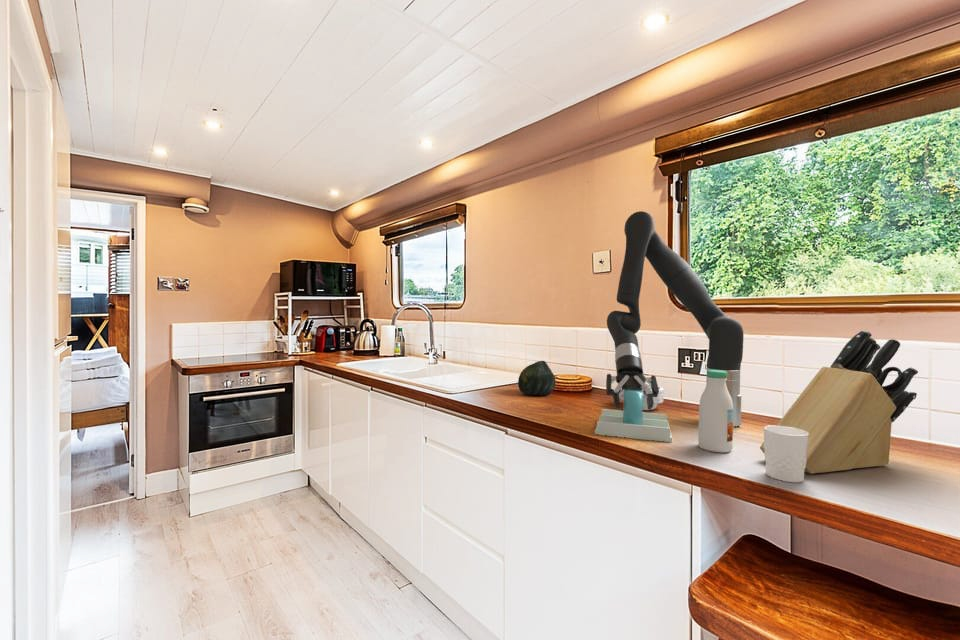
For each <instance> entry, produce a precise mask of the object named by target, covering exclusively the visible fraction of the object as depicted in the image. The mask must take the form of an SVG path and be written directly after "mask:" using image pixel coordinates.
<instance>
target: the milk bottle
mask: <svg viewBox="0 0 960 640" xmlns="http://www.w3.org/2000/svg"><path fill="white" fill-rule="evenodd" d="M706 377H707V380H708V381H707V385H706V384H705V385H706V386H705V388H704V390H703V392H702V394H701V396H700V399H699V407H698V408H699V409H698V441H697V442H698V446H699V448H701V449H702V450H704V451H708V452H713V453H723V454H724V453H730V452H732V450H733V442H734V441H733V438H734V437H733V434H734V427H733V402H732V399H731V396H730V394H729V392H728V389H727V386H726V380H727V372H726V371H722V370H707V369H706Z"/></svg>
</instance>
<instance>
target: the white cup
mask: <svg viewBox="0 0 960 640" xmlns="http://www.w3.org/2000/svg"><path fill="white" fill-rule="evenodd" d="M808 438H809V433H808V432H806V431H804V430H801V429H797V428H793V427H786V426H777V425H765V426H763V443H764V450H765V454H764V460H765V474H766V475H767V476H768V477H769V476H770V478H772V479H774V478H775V480H777V479H778V480H777V481H781V480H782V482H785V483H795V482H796V483H802V482H804V480H805V468H806V461H807V449H808Z"/></svg>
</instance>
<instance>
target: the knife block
mask: <svg viewBox="0 0 960 640" xmlns="http://www.w3.org/2000/svg"><path fill="white" fill-rule="evenodd" d="M872 336H873V335H872V333H871V332H869V330H865V329H863V330H860V331H859V332H858V333H856V334H855V335H853V336H852V337H851V338H850V340H848V342H847V343H846V344H845V345H844V347H843V348H842V349H841V351H840V352H839V354H838V355H837V357H836V358H835V360H834V361H833V362H832V363H831V365H830V367H829V366H822V367H821V368H820V369H819V371H818V372H817V373H816V374H815V376H814V377H813V378H812V380H811V381H810V382H809V383H808V384H807V386H805V388H804V389H803V391H802V392H801V393H800V395H798V397H797V398H796V399H795V401H794V402H793V403H792V405H791V406H790V407H789V408H788V410H787V411H786V412H785V414H784V415H783V416H782V417H781V419H780V420H779V422H778V423H777V424H776V426H786V427H793V428H797V429H801V430H804V431H806V432H808V433H809V438H808V449H807V461H806V468H805V471H804V473H807V474H812V475H813V474H819V473H821V474H822V473H830V472H838V471H839V472H840V471H848V470H852V469H860V468H870V467H871V468H872V467H883V466H888V465H889V462H890V451H891V450H890V449H891V434H892V425H893V424H892V423H894V422H895V421H896V420H897V419H898V418H899V417H900V416H901V415H902V414H903V413H904V412H905V411H906V409H907V408H908V407H909V405H910V404H911V403H912V402H913V400H916V398H917V394H918V393H917V392H914V391H907V390H906V389H907V387H908V386H909V384H910V383H911V381H912V380H913V378H914V377H915V375H917V374H918V373H919V371H918V370H917V369H916V368H913V367H911V366H910V367H908V368H906V369H905V370H903V371H902V370H901V369H900V368H899V367H896V366H889V367H886V368H884V367H885V366H887V364H888V363H890V362H891V360H892V359H893V357H894V356H895V355H896V354H897V352H898V351H899V348H900V347H901V343H900V341H898V340H896V339H893V338H892V339H888V340H887V341H886V342H885V344H884V345H882V347H881V346H880V344H879V343H877V341H876V340H875V338H872ZM883 368H884V369H883ZM891 372H897V375H898V376H897V377H896V378H895V380H894V381H893V382H891V383H890V384H888V385H883V384H884V383H885V381H886V379H887V377H888V375H889V373H891ZM759 449H760V450H761V451H762V453H763V454H764V455H765V450H764V442H763V443H761V445H760V447H759Z"/></svg>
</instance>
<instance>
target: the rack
mask: <svg viewBox="0 0 960 640" xmlns="http://www.w3.org/2000/svg"><path fill="white" fill-rule="evenodd" d="M669 422H670V421H669V420H668V414H666V413H656V412H655V413H653V412H644V411H643V417H642V425H634V424H623V410H619V409H609V408H608V409H607V408H606V409H605V408H602V409H601V414H599V419H598V420H597V421H596V428H595V429H594V435H596V434H599V435H598V436H605V435H607V437H615V436H617V438H624V437H626V439H635V440H646V441H653V440H654V441H655V442H656V441H657V442H663V441H664V442H666V443H673V436H672V431H671V428H670V427H671V426H670V425H669V424H670V423H669Z"/></svg>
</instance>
